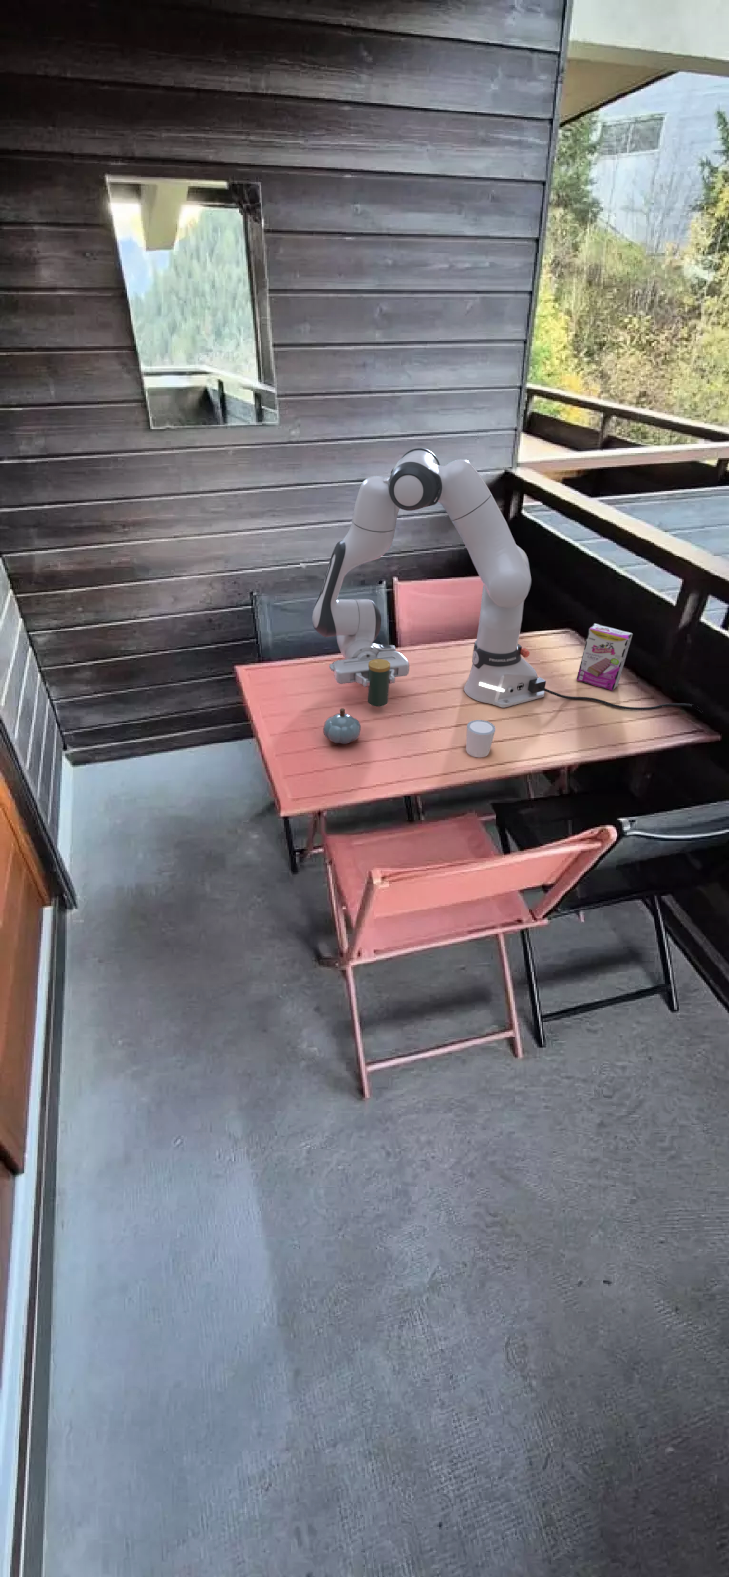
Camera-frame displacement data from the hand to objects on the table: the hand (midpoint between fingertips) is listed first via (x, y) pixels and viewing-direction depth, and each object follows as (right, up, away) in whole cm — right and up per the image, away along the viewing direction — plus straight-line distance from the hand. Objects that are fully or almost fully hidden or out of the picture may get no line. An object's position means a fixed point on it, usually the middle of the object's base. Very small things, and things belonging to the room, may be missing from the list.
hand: (379, 682), depth 181 cm
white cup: (+24, -18, -8) cm, 31 cm away
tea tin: (0, -4, +4) cm, 6 cm away
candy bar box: (+64, +3, +22) cm, 67 cm away
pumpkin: (-10, -15, -7) cm, 19 cm away
